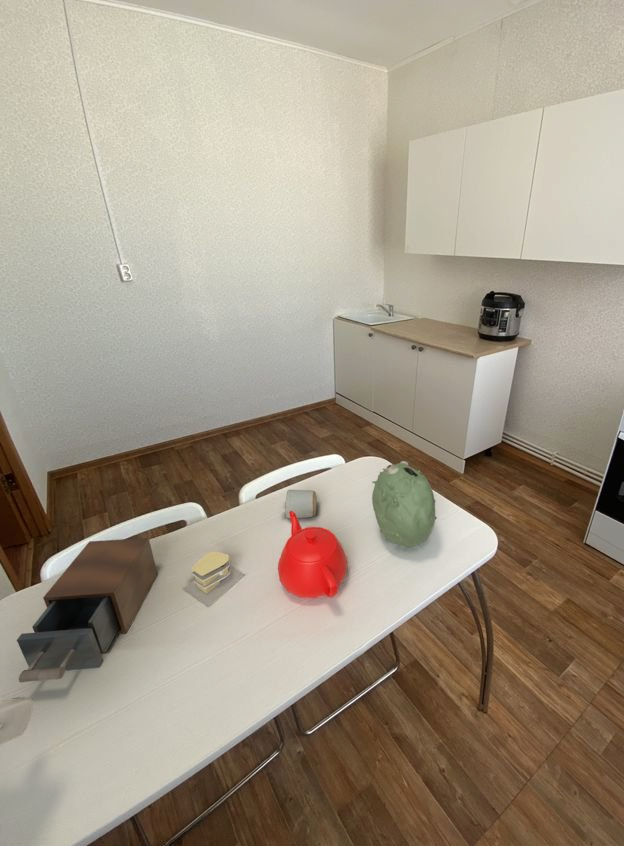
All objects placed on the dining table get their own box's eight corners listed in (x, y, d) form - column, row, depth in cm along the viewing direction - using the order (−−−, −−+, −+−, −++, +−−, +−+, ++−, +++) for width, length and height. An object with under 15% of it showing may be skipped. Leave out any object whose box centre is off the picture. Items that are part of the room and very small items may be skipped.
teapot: (369, 600, 81) (369, 554, 77) (300, 634, 74) (296, 586, 70) (321, 530, 101) (318, 491, 97) (263, 552, 94) (258, 511, 90)
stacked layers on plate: (208, 607, 80) (204, 587, 78) (182, 588, 84) (177, 569, 83) (245, 574, 88) (242, 555, 86) (219, 559, 92) (216, 541, 90)
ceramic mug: (316, 522, 104) (315, 498, 102) (286, 524, 104) (284, 500, 101) (317, 499, 114) (316, 477, 112) (289, 501, 114) (287, 478, 111)
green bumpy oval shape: (402, 574, 87) (404, 501, 80) (358, 528, 102) (356, 462, 95) (451, 547, 95) (457, 478, 88) (404, 507, 110) (406, 445, 103)
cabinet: (126, 633, 75) (113, 592, 71) (59, 638, 74) (42, 597, 70) (157, 574, 88) (148, 537, 85) (101, 578, 87) (89, 541, 84)
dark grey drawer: (85, 698, 63) (70, 661, 60) (12, 705, 62) (-7, 668, 59) (136, 604, 80) (127, 571, 77) (79, 608, 79) (68, 575, 76)
